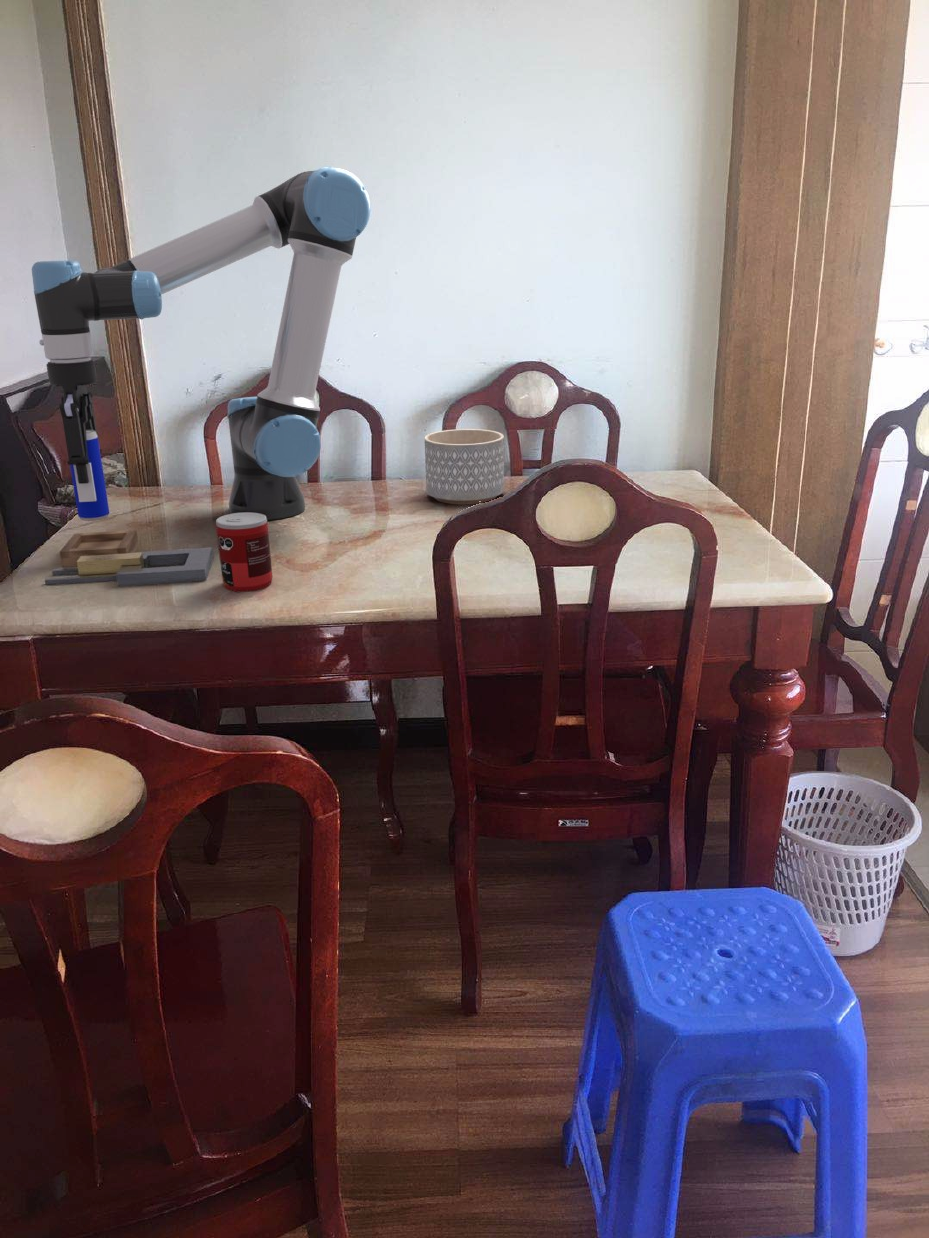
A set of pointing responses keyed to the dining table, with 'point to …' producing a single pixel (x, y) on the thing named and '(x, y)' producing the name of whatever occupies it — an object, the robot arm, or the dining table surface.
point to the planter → (464, 465)
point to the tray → (98, 545)
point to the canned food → (244, 551)
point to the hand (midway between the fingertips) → (91, 496)
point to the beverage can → (100, 506)
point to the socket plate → (150, 569)
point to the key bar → (107, 563)
